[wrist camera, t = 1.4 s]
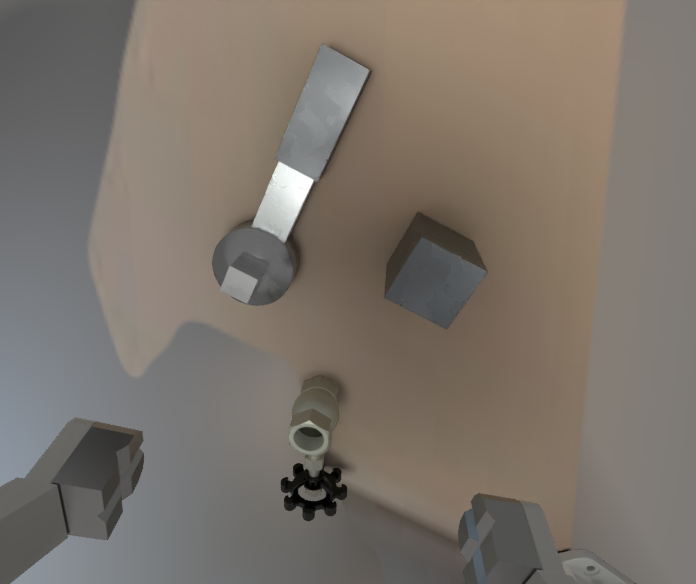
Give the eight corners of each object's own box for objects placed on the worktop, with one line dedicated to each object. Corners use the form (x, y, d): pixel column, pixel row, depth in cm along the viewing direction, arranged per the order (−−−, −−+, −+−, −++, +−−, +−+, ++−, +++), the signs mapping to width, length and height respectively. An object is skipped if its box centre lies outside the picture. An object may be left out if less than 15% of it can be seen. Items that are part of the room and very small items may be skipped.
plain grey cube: (473, 241, 35) (487, 271, 29) (439, 291, 37) (446, 329, 31) (418, 211, 34) (421, 236, 29) (386, 264, 37) (384, 297, 31)
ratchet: (390, 82, 31) (388, 81, 25) (281, 303, 39) (262, 337, 34) (308, 35, 30) (288, 24, 25) (214, 270, 38) (184, 300, 33)
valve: (287, 368, 42) (288, 462, 47) (268, 415, 36) (272, 516, 41) (356, 376, 42) (350, 470, 47) (349, 424, 36) (342, 525, 41)
